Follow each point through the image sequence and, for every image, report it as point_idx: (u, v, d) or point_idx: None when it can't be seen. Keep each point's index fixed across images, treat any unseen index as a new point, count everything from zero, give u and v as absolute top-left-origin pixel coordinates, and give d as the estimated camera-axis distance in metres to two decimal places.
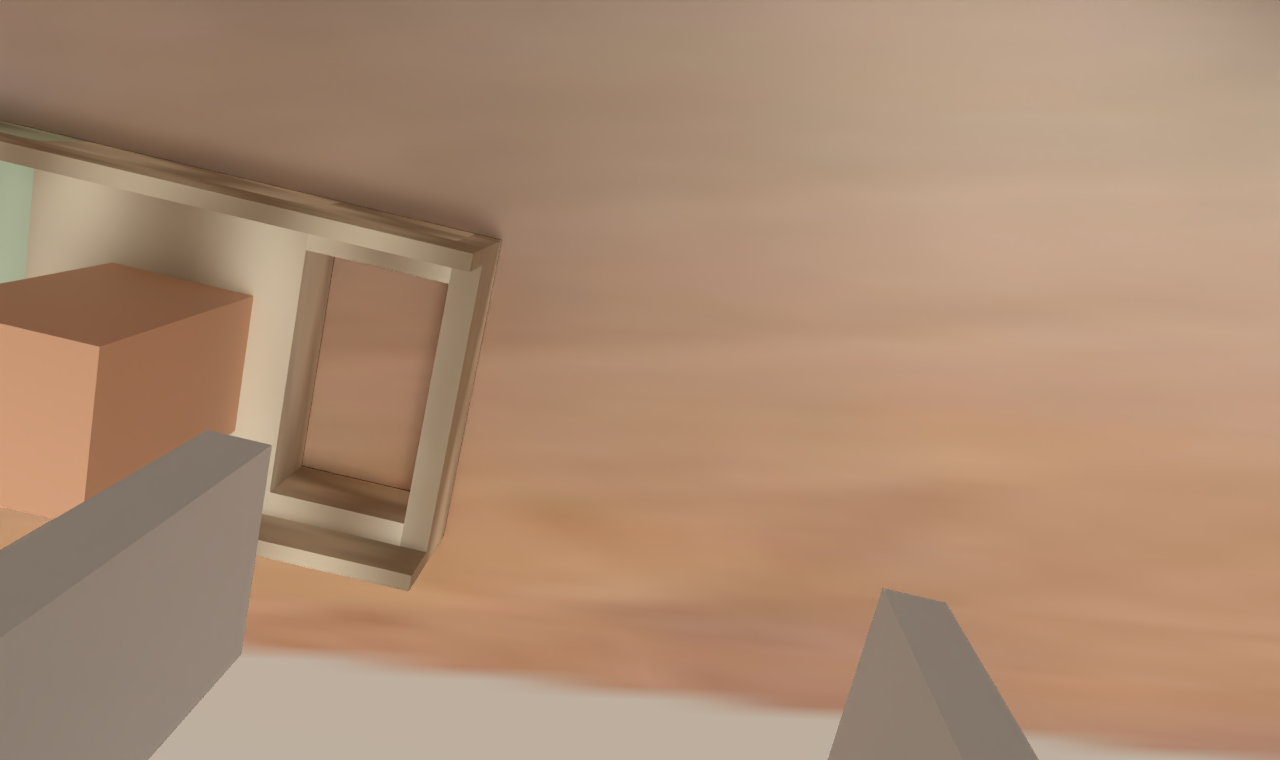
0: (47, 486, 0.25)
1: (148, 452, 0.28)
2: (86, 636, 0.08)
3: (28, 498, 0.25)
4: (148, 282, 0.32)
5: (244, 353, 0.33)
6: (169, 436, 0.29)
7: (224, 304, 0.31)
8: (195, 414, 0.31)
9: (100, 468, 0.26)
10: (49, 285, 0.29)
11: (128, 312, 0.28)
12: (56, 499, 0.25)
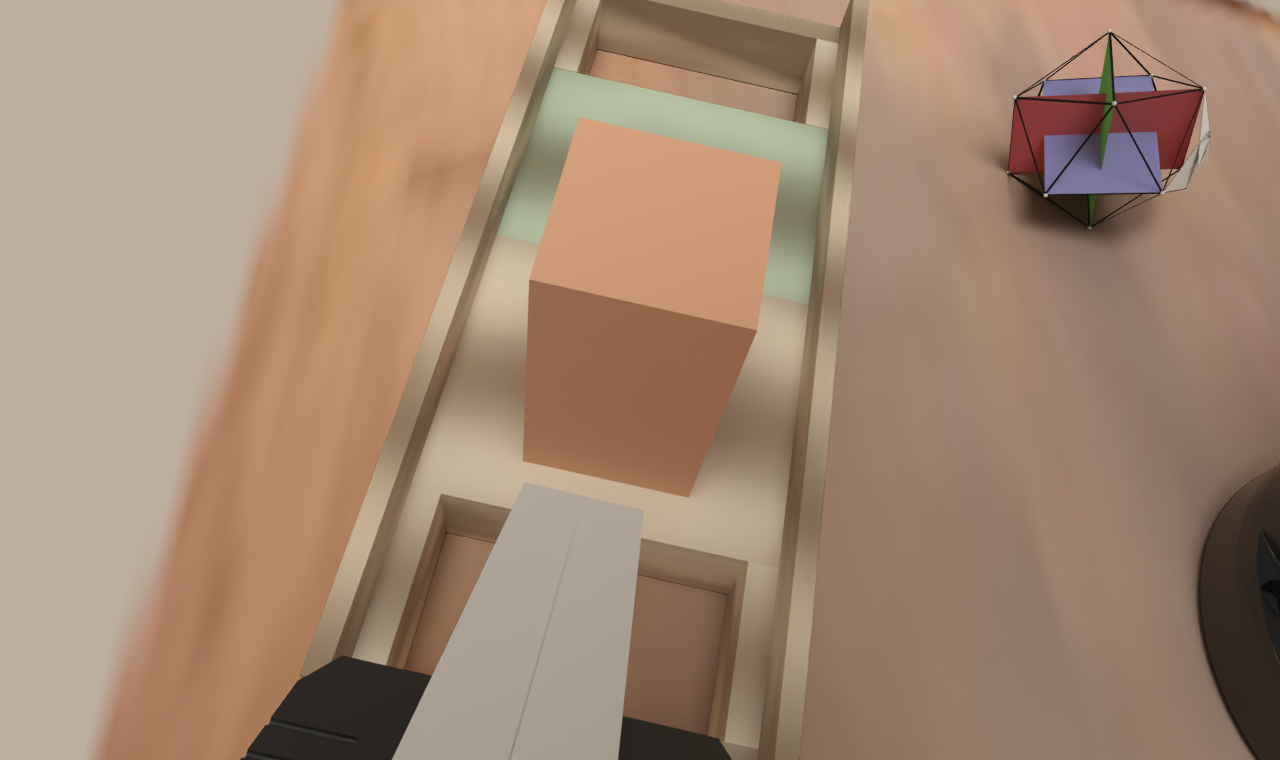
0: (579, 252, 0.21)
1: (571, 365, 0.23)
2: None
3: (563, 231, 0.21)
4: None
5: (620, 481, 0.28)
6: (573, 389, 0.24)
7: (700, 466, 0.27)
8: (580, 421, 0.25)
9: (592, 309, 0.21)
10: None
11: None
12: (563, 258, 0.21)
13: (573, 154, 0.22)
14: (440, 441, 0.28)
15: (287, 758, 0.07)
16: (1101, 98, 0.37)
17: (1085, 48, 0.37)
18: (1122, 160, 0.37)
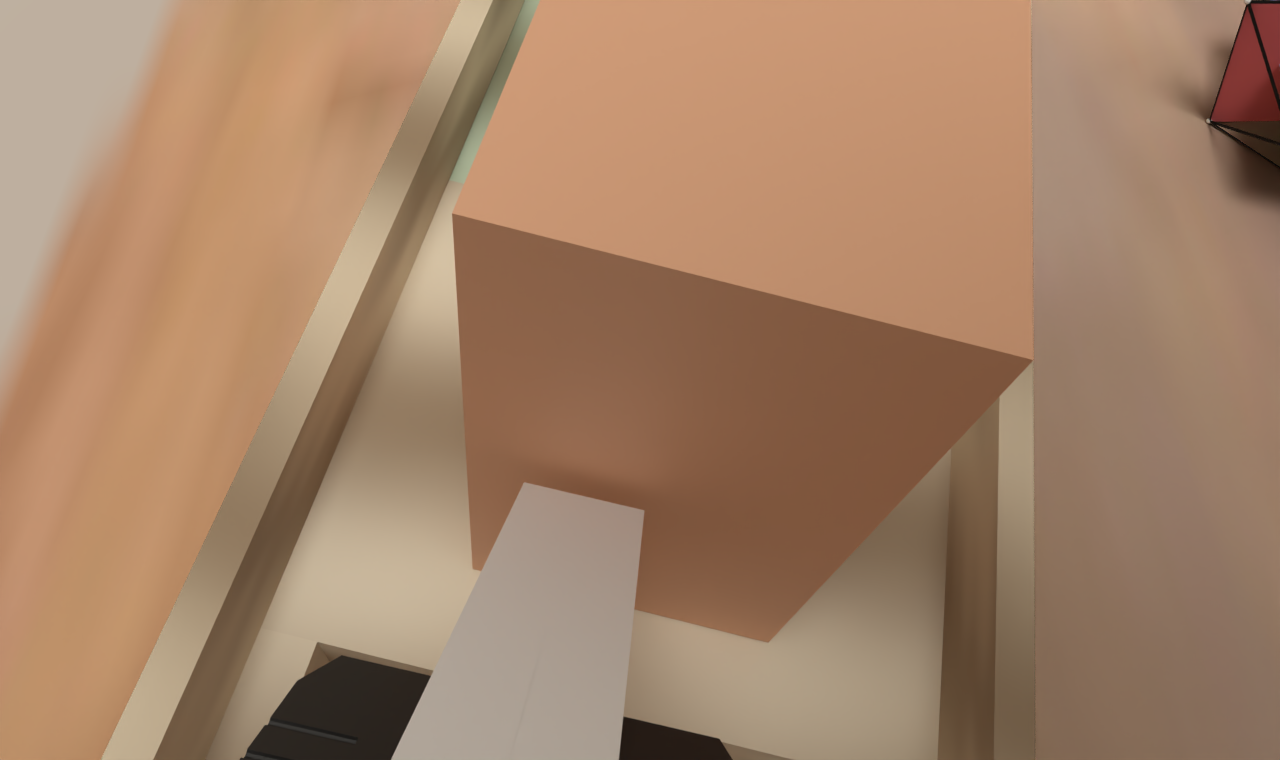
0: (584, 153, 0.08)
1: (559, 417, 0.11)
2: None
3: (546, 104, 0.09)
4: None
5: (647, 610, 0.16)
6: (564, 464, 0.12)
7: (802, 602, 0.14)
8: None
9: (611, 295, 0.08)
10: None
11: None
12: (542, 167, 0.08)
13: None
14: (324, 538, 0.16)
15: (286, 758, 0.07)
16: None
17: None
18: None
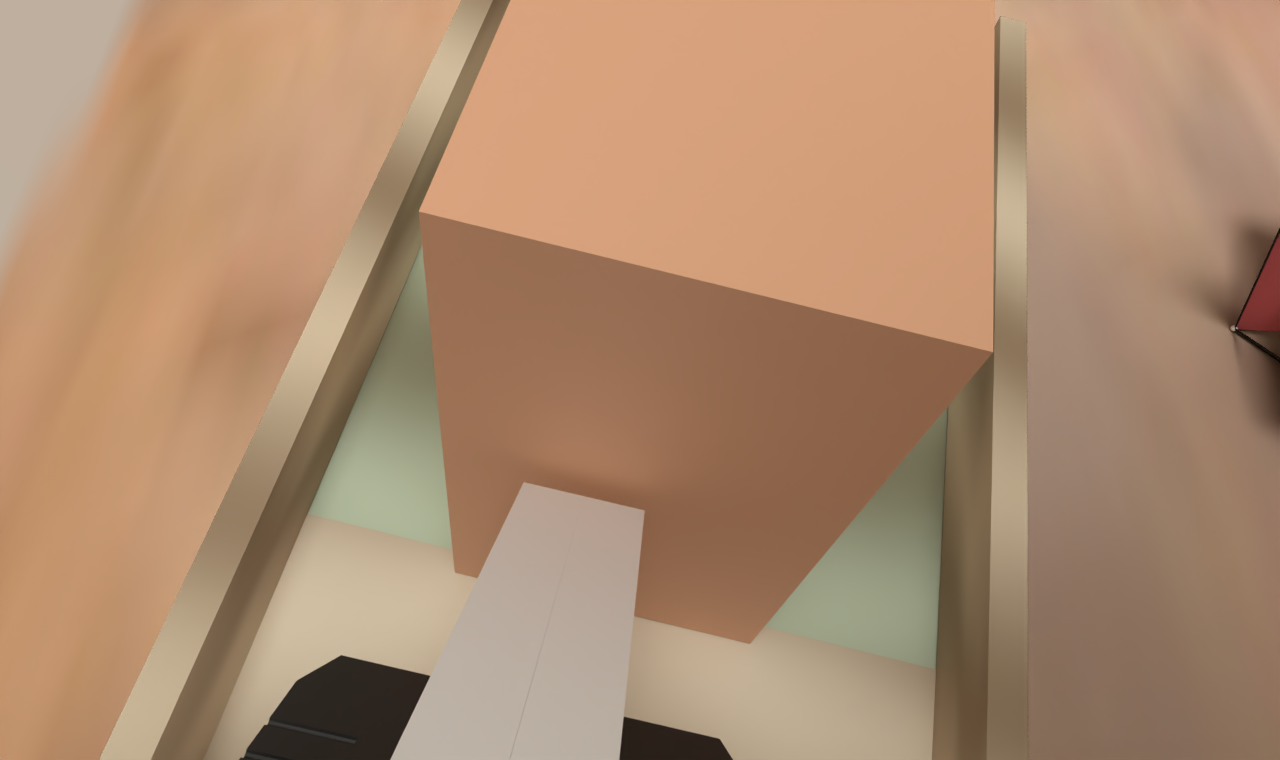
0: (550, 153, 0.09)
1: (534, 416, 0.11)
2: None
3: (514, 105, 0.09)
4: None
5: None
6: (540, 464, 0.12)
7: (781, 601, 0.14)
8: None
9: (578, 292, 0.09)
10: None
11: None
12: (509, 166, 0.08)
13: None
14: None
15: (286, 758, 0.07)
16: None
17: None
18: None
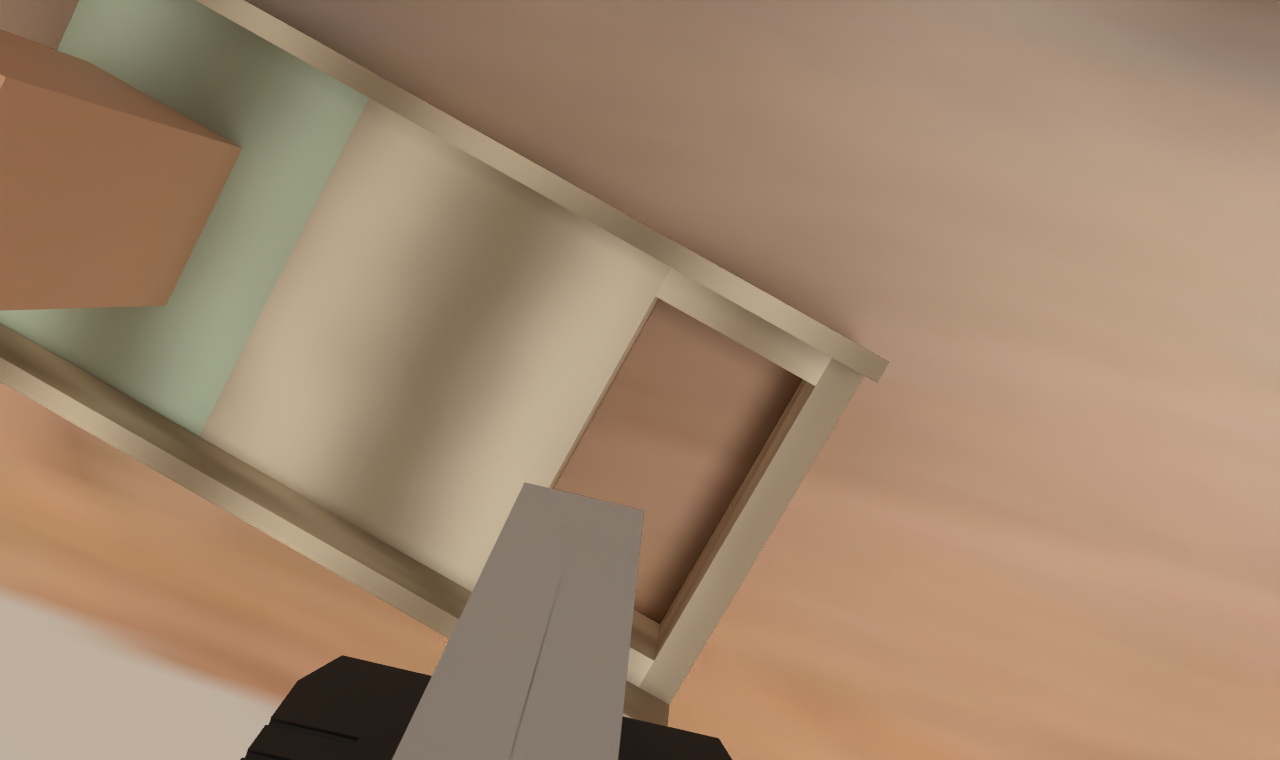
0: None
1: (36, 266, 0.21)
2: None
3: None
4: (120, 87, 0.25)
5: (208, 213, 0.27)
6: (72, 262, 0.22)
7: (202, 135, 0.25)
8: (118, 254, 0.24)
9: None
10: None
11: (73, 84, 0.21)
12: None
13: None
14: (443, 560, 0.27)
15: (287, 759, 0.07)
16: None
17: None
18: None
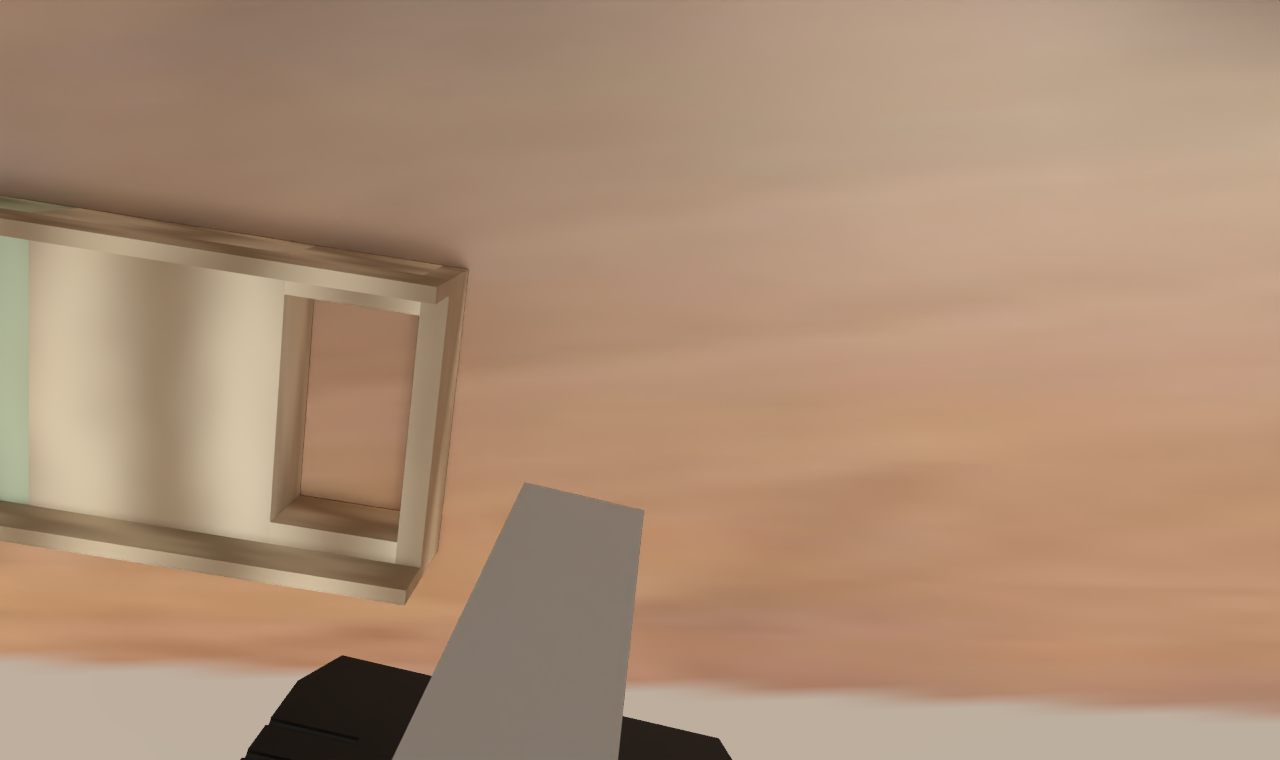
0: None
1: None
2: None
3: None
4: None
5: None
6: None
7: None
8: None
9: None
10: None
11: None
12: None
13: None
14: (228, 527, 0.37)
15: (286, 758, 0.07)
16: None
17: None
18: None
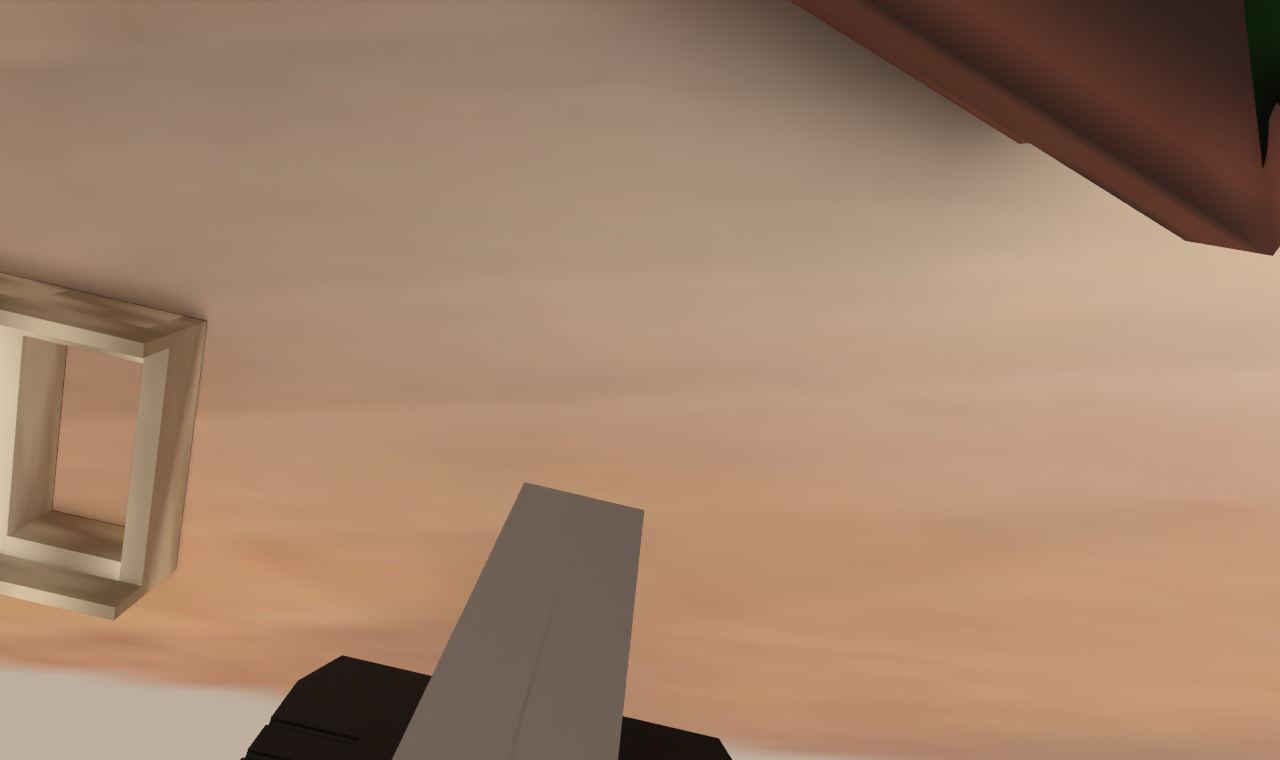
0: None
1: None
2: None
3: None
4: None
5: None
6: None
7: None
8: None
9: None
10: None
11: None
12: None
13: None
14: None
15: (287, 758, 0.07)
16: None
17: None
18: None
